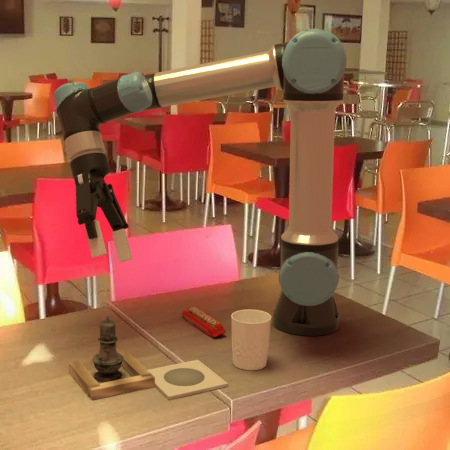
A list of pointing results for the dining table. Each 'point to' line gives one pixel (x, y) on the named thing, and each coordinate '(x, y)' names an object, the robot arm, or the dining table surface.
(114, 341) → the salt shaker
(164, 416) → the dining table surface
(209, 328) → the candy bar
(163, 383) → the cream square board
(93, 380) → the block
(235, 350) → the white cup
